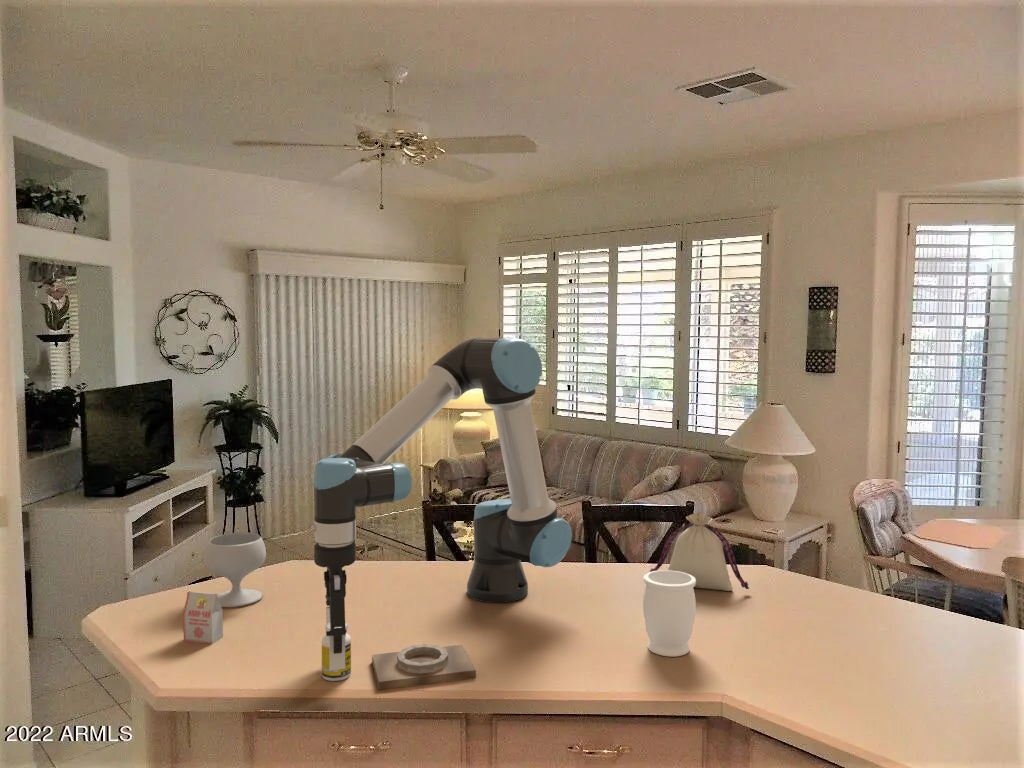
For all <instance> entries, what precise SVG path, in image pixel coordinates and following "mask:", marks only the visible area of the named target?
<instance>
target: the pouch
mask: <svg viewBox="0 0 1024 768" xmlns="http://www.w3.org/2000/svg"><path fill="white" fill-rule="evenodd" d="M685 518H686V520H687V521H689V523H688V524H686V525H683V526H681V527H679V528H678V529H676V530H675V531H674V532H672V533H671V535H670V536H669V537H668V538H667V540H666V542H665V544H664V546H663V548H662V551H661V553H660V557H659V560H658V562H657V564H656V566H655V567H654V568H652V567H651V568H650V569H649V572H652V571H659V569H660V568H661V567H662V565H664V563H665V560H666V558H667V557H668V554H669V551H670V548H671V546H672V543H673V541H674V539H675V538H676V537H677V535H678V534H679V533H680V534H679V535H678V537H677V538H676V542H675V546H674V548H673V552H672V554H671V559H670V562H669V567H668V568H667V570H671V571H679V572H684V573H687V574H690V575H692V576H693V577H695V579H696V585H695V586H694V587H693V588H696V589H697V588H698V589H707V590H716V591H717V590H718V591H722V592H724V591H726V592H732V591H733V589H734V588H733V585H732V582H731V580H730V578H731V577H730V575H729V570H728V566H727V561H726V558H725V554H724V549H725V551H726V554H727V558H728V561H729V565H730V567H731V570H732V572H733V574H734V576H735V577H736V578H737V580H738V581H739V582H740V586H741V588H745V589H746V590H749V589H750V587H749V583H748V581H744V579H743V577H742V576H741V574H740V571H739V568H738V564H737V561H736V557H735V554H734V551H733V548H732V547H731V544H730V543H729V541H728V540H727V538H726V537H725V536H724V535H723V534H722V532H720V531H719V530H717V529H716V528H715V527H714V526H712V525H709V524H710V523H711V521H712V520H713V518H712V517H710V516H708V515H706V513H705V512H696V513H692V514H690V515H687V516H686V517H685ZM684 529H685V530H684ZM683 530H684V531H683ZM722 544H723V546H724V549H723V546H722Z"/></svg>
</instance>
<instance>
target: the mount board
mask: <svg viewBox="0 0 1024 768" xmlns="http://www.w3.org/2000/svg"><path fill="white" fill-rule="evenodd" d="M371 664H372V667H373V671H374V676H375V680H376V685H377V688H378V690H379V691H380V690H381V691H382V690H389V689H397V688H398V689H399V688H405V687H412V686H420V685H429V684H437V683H447V682H453V681H461V680H469V679H476V678H477V669H476V668H475V666H474V664H473V662H472V660H471V658H470V656H469V654H468V653H467V651H466V649H465V648H464V646H463V644H457V645H448V646H439V645H437V644H436V645H435V644H426V643H424V644H423V643H422V644H416V645H415V644H414V645H411V646H407V647H405V648H402V649H401V650H399V651H395V652H394V651H393V652H386V653H376V654H372V655H371Z"/></svg>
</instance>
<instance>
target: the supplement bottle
mask: <svg viewBox="0 0 1024 768" xmlns="http://www.w3.org/2000/svg"><path fill="white" fill-rule="evenodd" d="M335 628H342V627H335ZM345 629H346V634H345V669H339V670H330V655H329V636H326V634H325V635H324V636H323V637H322V639H321V677H322V678H323V680H326V681H328V682H339V681H344V680H345V679H348V678H349V677H350V675H352V637H351V635H350V634H348V623H347V622H346V621H345ZM326 631H330V623H328V624H326V625H325V632H326Z"/></svg>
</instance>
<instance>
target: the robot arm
mask: <svg viewBox="0 0 1024 768" xmlns="http://www.w3.org/2000/svg"><path fill="white" fill-rule="evenodd" d="M427 370H428V372H427V374H428V375H427V376H426V377H424V379H422V380H421V381H420V382H419V383H418V384H416V385H415V386H414V388H413V389H411V390H410V391H409V392H408V393H407V394H406V395H405V396H403V398H402V399H401V400H399V402H397V403H396V404H395V405H394V406H393V407H392V408H391V409H390V410H388V411H387V412H386V414H384V415H383V416H382V417H381V418H380V419H378V420H377V421H376V423H374V424H373V425H372V426H371V427H370V428H369V429H367V431H366V432H365V433H364V434H363V435H362V436H360V437H359V438H358V439H357V440H356V441H355V442H354V443H353V444H352V445H351V446H350V447H348V448H347V449H346V450H345V451H344V452H342V453H335V454H331V455H328V456H327V457H325V458H323V459H321V460H318V461H317V462H316V463H315V464H314V465H315V466H314V473H313V484H312V486H313V507H314V508H313V512H314V514H313V515H314V518H313V519H314V525H311V526H310V530H311V531H312V532H313V531H314V541H315V542H316V543H314V546H313V547H314V548H313V550H314V551H313V552H314V553H313V554H314V555H313V559H314V564H315V565H316V566H317V567H320V568H326V571H323V581H324V587H325V589H326V591H325V593H326V594H325V599H326V600H325V604H326V607H325V608H326V609H325V612H326V614H325V616H326V617H325V619H326V620H325V621H326V624H328V623H330V631H326V630H325V635H326V636H329V655H330V670H339V669H345V634H346V629H345V622H346V608H345V607H346V606H345V605H346V600H345V598H346V594H347V591H346V584H347V573H346V569H343V568H344V567H347V566H350V565H352V564H354V563H355V561H356V556H357V553H356V551H357V550H356V545H357V543H355V540H356V539H357V518H356V516H357V515H356V513H357V508H362V507H367V506H373V505H380V504H381V505H382V504H388V503H391V504H392V503H394V502H398V501H402V500H405V499H406V498H408V497H409V495H410V494H411V491H412V487H413V482H412V480H413V478H412V473H411V471H410V469H409V467H408V466H406V464H405V463H403V462H387V461H388V460H389V459H390V458H391V457H392V456H394V455H395V453H397V452H398V451H399V450H400V449H401V448H402V447H403V446H404V445H405V444H406V443H407V442H408V441H409V440H411V438H412V437H414V436H415V434H416V433H418V431H420V430H421V429H422V428H423V427H424V426H425V425H426V424H427V423H429V421H430V420H431V419H432V418H433V417H434V416H435V415H437V413H438V412H440V411H441V410H442V408H444V407H445V406H446V405H447V404H448V403H449V402H450V401H451V400H458V399H459V398H461V397H462V396H463V394H465V393H466V392H468V391H470V390H474V389H475V390H477V389H479V390H482V395H483V398H484V403H485V405H487V406H489V407H490V408H492V410H493V415H494V420H495V425H496V430H497V435H498V441H499V445H500V451H501V456H502V460H503V465H504V466H503V467H504V471H505V476H506V482H507V488H508V491H509V496H510V498H504V499H503V498H500V499H499V498H498V499H491V500H486V501H482V502H479V503H477V504H476V506H475V507H474V515H473V552H474V553H473V555H474V556H473V558H474V559H473V564H472V569H470V570H471V571H470V574H469V576H468V577H469V578H468V581H467V582H466V583H467V584H466V594H467V596H469V597H470V598H472V599H474V600H477V601H480V602H484V603H496V604H498V603H508V602H509V603H510V602H515V601H519V600H522V599H523V598H525V597H526V596H527V595H528V594H529V583H528V580H527V576H526V574H525V570H524V567H523V564H522V562H526V563H528V564H531V565H532V566H535V567H539V566H540V567H543V568H551V567H555V566H556V565H558V564H559V563H560V562H561V561H562V560H563V559H564V558H565V557H566V555H567V553H568V550H570V547H571V543H572V536H573V535H572V527H571V526H570V524H569V522H567V521H566V520H565V519H564V518H561V517H559V513H558V508H557V503H556V502H555V501H554V500H552V499H550V498H549V494H548V490H547V483H546V478H545V473H544V469H543V460H542V456H541V452H540V445H539V440H538V435H537V434H538V433H537V430H536V424H535V419H534V418H535V417H534V414H533V407H532V400H533V398H535V396H536V394H537V393H536V388H537V386H538V385H539V384H540V381H541V379H540V377H542V375H543V364H542V360H541V356H540V354H539V352H538V350H537V349H536V348H535V347H534V346H533V345H532V344H531V343H529V342H528V341H527V340H525V339H521V338H514V337H509V336H508V337H474V338H473V337H472V338H470V339H467V340H463V342H461V343H459V344H457V345H456V346H454V347H453V348H451V349H450V350H449V351H447V352H445V354H443V355H442V356H441V357H439V358H438V360H436V361H435V362H434V363H433V364H432V365H431V366H430V367H429V368H428V369H427ZM386 462H387V463H386ZM335 627H342V628H335Z"/></svg>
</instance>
